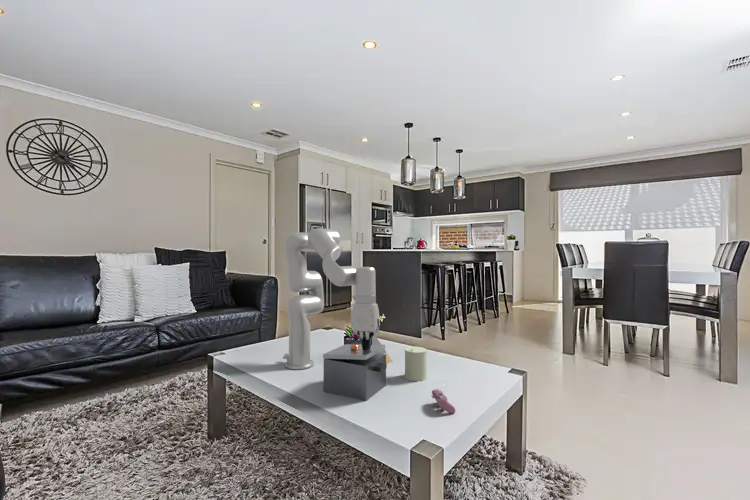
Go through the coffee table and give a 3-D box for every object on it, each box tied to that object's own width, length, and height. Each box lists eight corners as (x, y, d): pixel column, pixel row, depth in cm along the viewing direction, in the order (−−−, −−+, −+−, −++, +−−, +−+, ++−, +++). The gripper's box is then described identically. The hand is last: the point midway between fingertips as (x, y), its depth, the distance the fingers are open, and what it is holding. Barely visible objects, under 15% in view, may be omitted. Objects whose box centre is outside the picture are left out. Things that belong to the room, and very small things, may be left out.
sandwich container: (382, 366, 163) (382, 332, 163) (357, 359, 173) (357, 328, 173) (393, 361, 170) (393, 329, 170) (368, 355, 180) (368, 325, 180)
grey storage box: (323, 391, 133) (323, 359, 133) (346, 377, 147) (346, 348, 147) (373, 402, 124) (373, 367, 124) (392, 386, 138) (392, 355, 138)
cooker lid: (323, 358, 133) (322, 349, 133) (345, 348, 148) (345, 340, 148) (365, 359, 125) (365, 350, 125) (385, 348, 140) (384, 340, 140)
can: (399, 377, 148) (400, 348, 148) (413, 371, 155) (413, 344, 155) (418, 383, 142) (418, 352, 142) (431, 377, 149) (431, 348, 149)
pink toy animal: (436, 406, 125) (427, 388, 124) (447, 400, 125) (438, 382, 125) (444, 419, 115) (435, 400, 115) (457, 412, 115) (447, 393, 115)
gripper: (343, 300, 134) (343, 349, 134) (379, 302, 128) (380, 354, 127) (353, 298, 141) (353, 345, 141) (388, 299, 134) (388, 349, 134)
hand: (366, 349), depth 134 cm, fingers closed
